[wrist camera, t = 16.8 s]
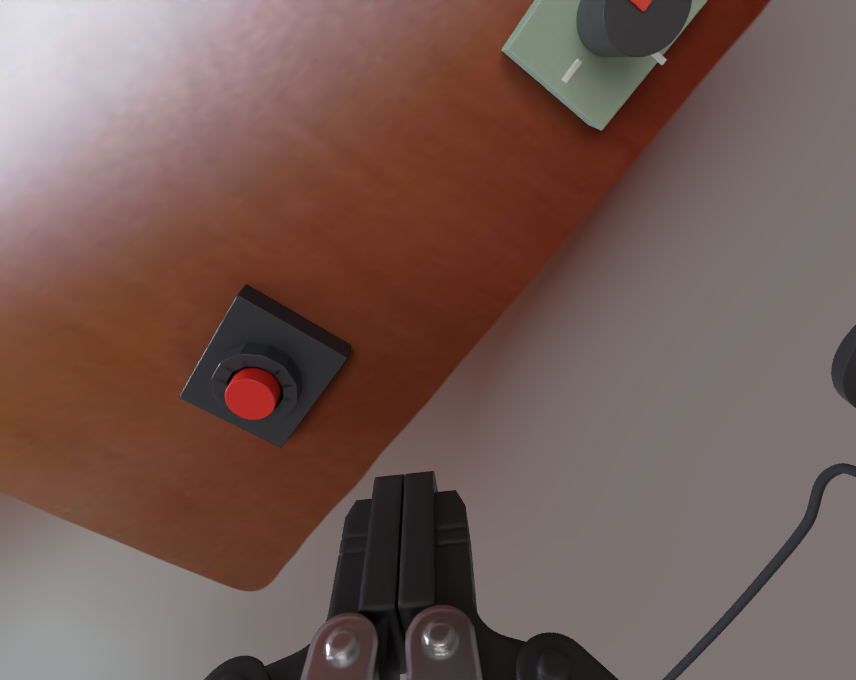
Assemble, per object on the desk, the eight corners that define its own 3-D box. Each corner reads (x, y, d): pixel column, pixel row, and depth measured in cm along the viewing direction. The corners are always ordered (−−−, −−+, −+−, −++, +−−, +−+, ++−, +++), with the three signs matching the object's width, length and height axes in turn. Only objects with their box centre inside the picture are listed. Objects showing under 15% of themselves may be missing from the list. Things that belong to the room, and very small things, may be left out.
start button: (267, 414, 43) (261, 427, 42) (223, 392, 42) (216, 405, 41) (289, 382, 42) (284, 395, 40) (244, 359, 41) (237, 370, 39)
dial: (668, 0, 30) (715, -11, 25) (616, 72, 31) (650, 75, 26) (611, -50, 28) (649, -72, 24) (560, 28, 30) (586, 22, 25)
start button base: (287, 433, 49) (276, 462, 45) (188, 383, 46) (169, 410, 43) (351, 345, 44) (344, 369, 41) (246, 283, 41) (229, 304, 38)
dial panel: (592, 128, 36) (606, 134, 33) (497, 47, 33) (503, 45, 30) (704, -13, 32) (731, -19, 29) (606, -116, 29) (625, -135, 27)
